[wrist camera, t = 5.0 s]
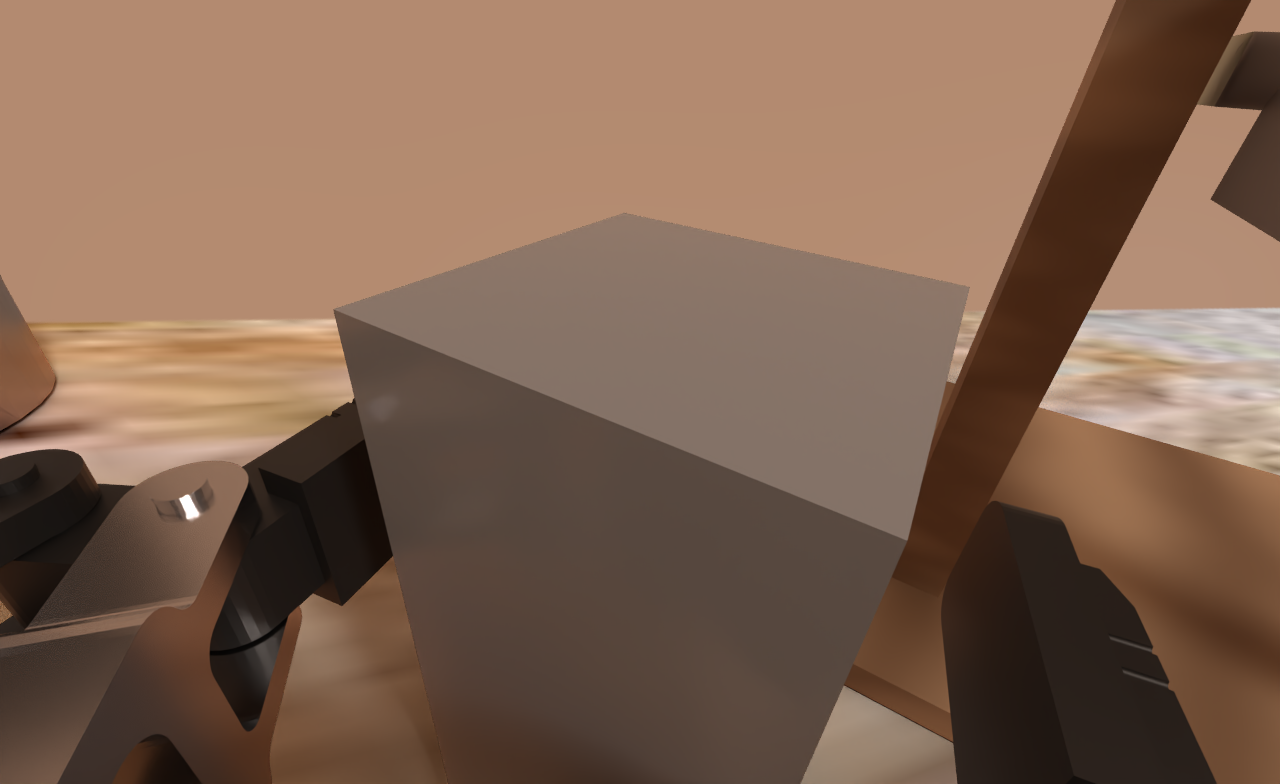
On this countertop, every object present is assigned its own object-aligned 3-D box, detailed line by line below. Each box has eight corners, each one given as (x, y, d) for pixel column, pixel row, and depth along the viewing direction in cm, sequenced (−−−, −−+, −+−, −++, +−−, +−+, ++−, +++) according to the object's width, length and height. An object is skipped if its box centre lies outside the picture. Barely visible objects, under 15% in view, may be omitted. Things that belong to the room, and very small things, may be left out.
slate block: (454, 809, 10) (332, 309, 5) (605, 615, 14) (624, 212, 9) (695, 1020, 8) (907, 540, 3) (797, 726, 12) (970, 286, 7)
